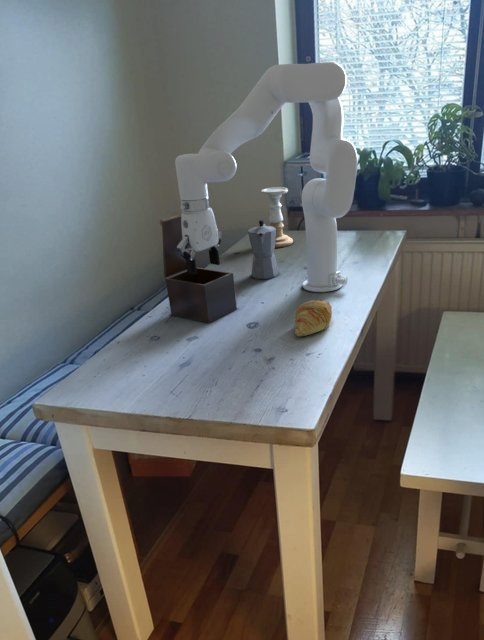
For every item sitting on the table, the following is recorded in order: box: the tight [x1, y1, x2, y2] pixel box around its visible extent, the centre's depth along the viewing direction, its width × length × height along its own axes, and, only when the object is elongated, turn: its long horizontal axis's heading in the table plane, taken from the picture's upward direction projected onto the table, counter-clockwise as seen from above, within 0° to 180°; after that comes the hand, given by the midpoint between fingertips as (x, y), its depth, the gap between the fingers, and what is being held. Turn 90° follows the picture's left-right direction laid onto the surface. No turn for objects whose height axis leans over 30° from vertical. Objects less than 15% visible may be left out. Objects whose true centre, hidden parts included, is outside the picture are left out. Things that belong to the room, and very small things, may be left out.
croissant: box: [294, 299, 333, 337], centre depth 163 cm, size 21×10×8 cm, turn 156°
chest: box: [165, 266, 238, 324], centre depth 177 cm, size 15×13×11 cm
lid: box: [159, 214, 196, 278], centre depth 173 cm, size 16×13×5 cm
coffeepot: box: [247, 219, 279, 280], centre depth 203 cm, size 15×9×18 cm, turn 176°
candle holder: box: [260, 186, 294, 248], centre depth 236 cm, size 12×12×20 cm
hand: (204, 268), depth 172 cm, fingers open, 9 cm apart
